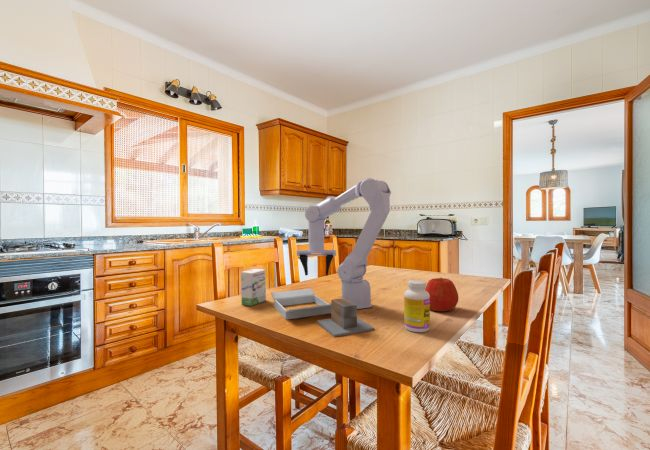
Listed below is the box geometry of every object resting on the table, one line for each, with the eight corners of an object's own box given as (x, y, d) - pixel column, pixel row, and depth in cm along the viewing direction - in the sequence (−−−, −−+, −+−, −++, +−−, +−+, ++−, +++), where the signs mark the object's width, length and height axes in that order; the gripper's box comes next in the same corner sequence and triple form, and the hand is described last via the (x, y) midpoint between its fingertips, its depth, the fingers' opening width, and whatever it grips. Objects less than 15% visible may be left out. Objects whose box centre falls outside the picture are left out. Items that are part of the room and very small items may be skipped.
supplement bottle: (426, 335, 78) (426, 285, 78) (401, 330, 81) (400, 282, 81) (432, 327, 84) (432, 280, 83) (408, 323, 87) (408, 278, 87)
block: (343, 318, 90) (343, 298, 90) (356, 326, 83) (356, 305, 82) (331, 320, 88) (331, 299, 88) (343, 329, 81) (343, 306, 81)
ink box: (251, 306, 106) (251, 272, 106) (240, 304, 108) (240, 271, 108) (266, 300, 114) (266, 269, 113) (256, 299, 116) (255, 268, 116)
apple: (453, 316, 92) (453, 281, 92) (418, 310, 99) (418, 278, 99) (462, 308, 101) (461, 276, 101) (429, 303, 107) (429, 273, 107)
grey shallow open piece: (311, 299, 115) (311, 288, 115) (336, 316, 94) (336, 303, 94) (271, 303, 109) (271, 292, 109) (289, 323, 88) (289, 309, 88)
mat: (353, 317, 93) (353, 315, 93) (374, 329, 82) (374, 327, 82) (316, 322, 88) (316, 320, 88) (334, 337, 77) (334, 334, 77)
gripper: (294, 239, 109) (295, 276, 110) (335, 239, 108) (335, 277, 108) (298, 238, 116) (299, 273, 117) (336, 237, 115) (336, 273, 115)
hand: (316, 275), depth 113 cm, fingers open, 7 cm apart
